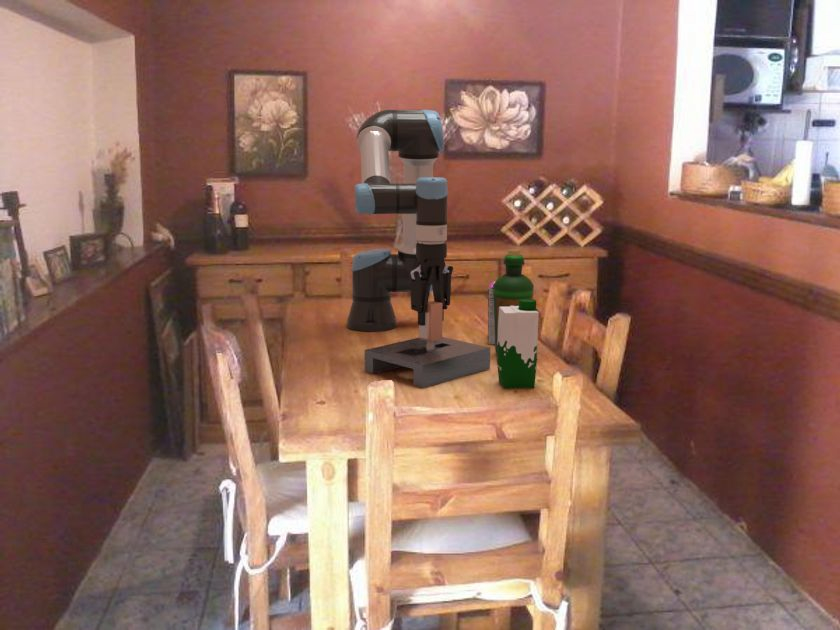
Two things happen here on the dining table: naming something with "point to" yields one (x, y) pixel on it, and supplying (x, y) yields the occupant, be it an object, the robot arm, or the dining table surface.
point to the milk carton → (517, 344)
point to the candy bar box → (491, 315)
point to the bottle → (511, 286)
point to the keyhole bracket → (430, 359)
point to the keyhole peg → (434, 323)
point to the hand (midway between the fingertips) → (430, 336)
